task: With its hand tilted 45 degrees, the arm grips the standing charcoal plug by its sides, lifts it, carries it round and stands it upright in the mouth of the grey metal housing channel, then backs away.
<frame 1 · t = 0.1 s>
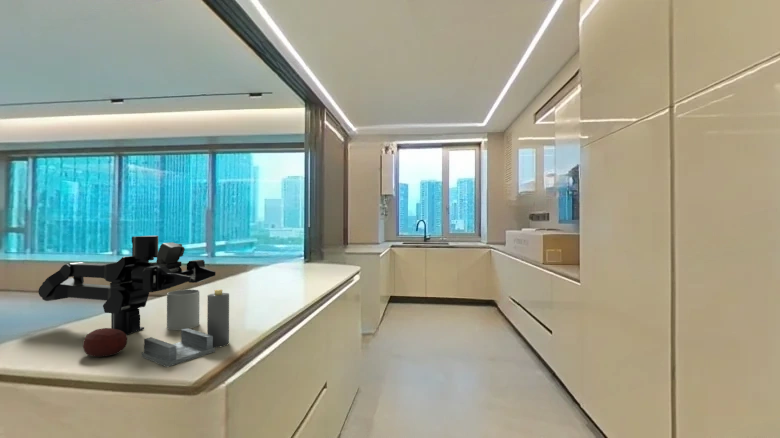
hand: (203, 276, 99), 17 cm above the counter, tool horizontal, fingers open, 9 cm apart
cup: (183, 326, 111), on the counter
potato: (105, 356, 87), on the counter
housing: (178, 354, 88), on the counter
plug: (218, 344, 95), on the counter
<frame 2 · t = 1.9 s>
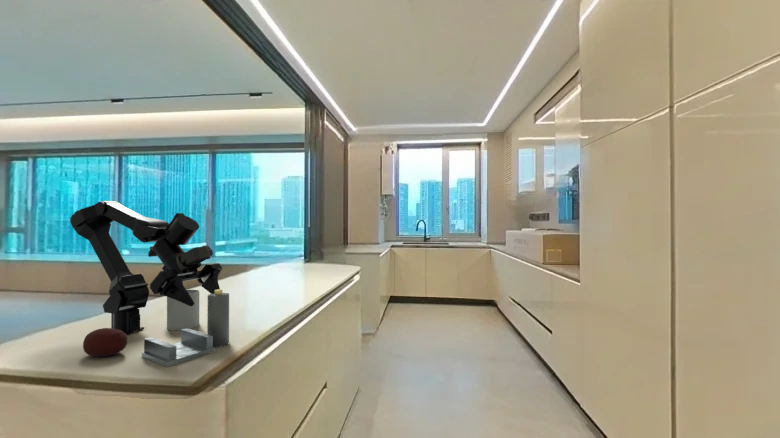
hand: (207, 301, 96), 11 cm above the counter, tool tilted 45°, fingers open, 9 cm apart
nothing on the counter moved.
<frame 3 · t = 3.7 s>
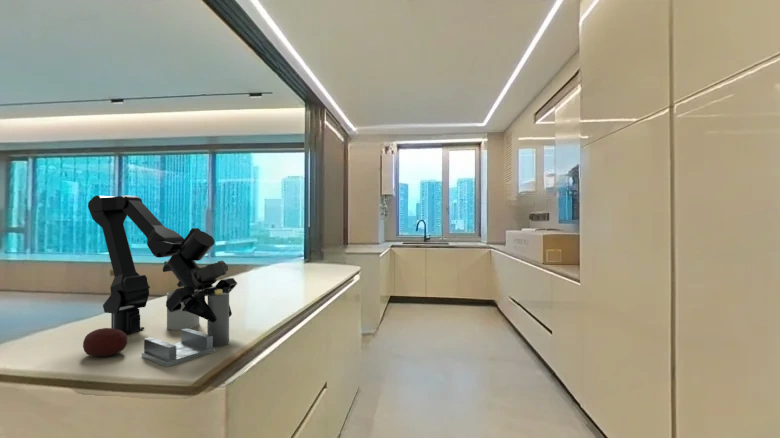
hand: (223, 318, 94), 7 cm above the counter, tool tilted 45°, fingers closed on plug, 5 cm apart
plug: (218, 343, 95), on the counter, touching gripper
everything else where it was.
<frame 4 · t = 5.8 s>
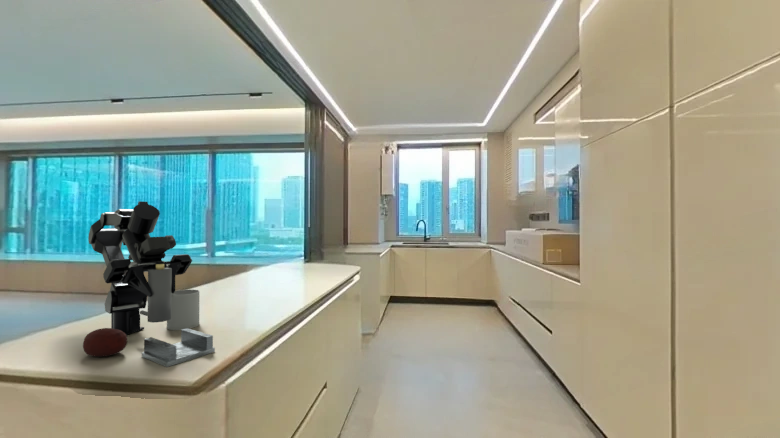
hand: (162, 293, 92), 13 cm above the counter, tool tilted 45°, fingers closed on plug, 5 cm apart
plug: (159, 319, 92), point 7 cm above the counter, touching gripper
everything else where it was.
when the fingers open (8 cm above the counter, at t = 8.1 s): plug stays where it is, resting on housing.
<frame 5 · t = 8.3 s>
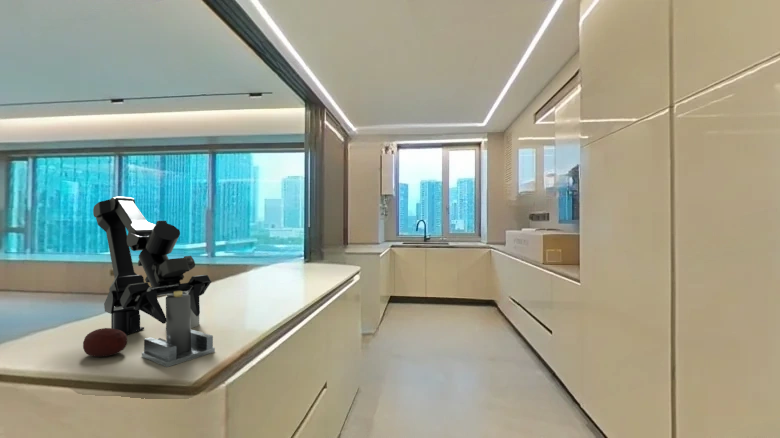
hand: (182, 318, 87), 9 cm above the counter, tool tilted 45°, fingers open, 7 cm apart
plug: (179, 349, 88), point 1 cm above the counter, touching housing
everything else where it was.
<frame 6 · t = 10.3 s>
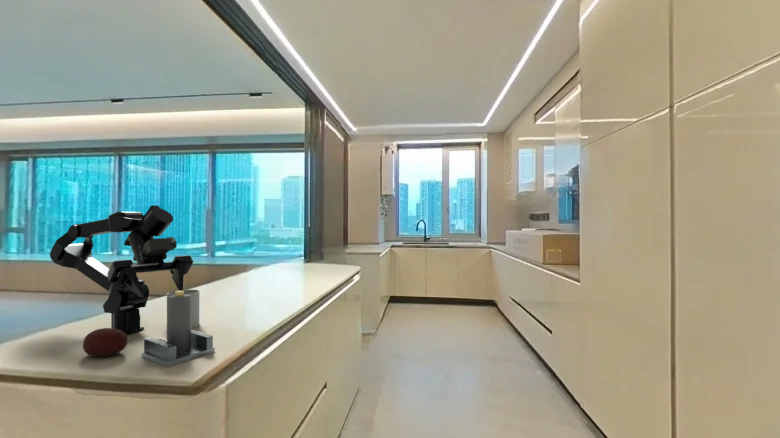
hand: (162, 293, 95), 13 cm above the counter, tool tilted 45°, fingers open, 9 cm apart
nothing on the counter moved.
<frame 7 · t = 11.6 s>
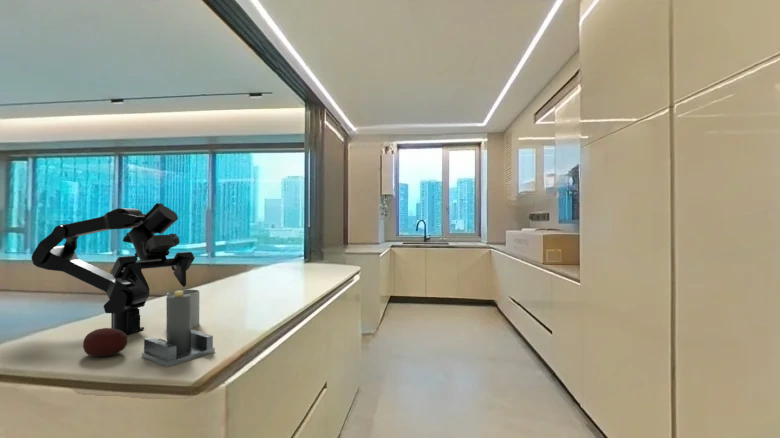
hand: (167, 288, 97), 14 cm above the counter, tool tilted 45°, fingers open, 9 cm apart
nothing on the counter moved.
at the end: plug inside the target area on the housing (0.1 cm from its centre), point 1.0 cm above the housing's base; plug tilted 1°; the gripper is holding nothing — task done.
